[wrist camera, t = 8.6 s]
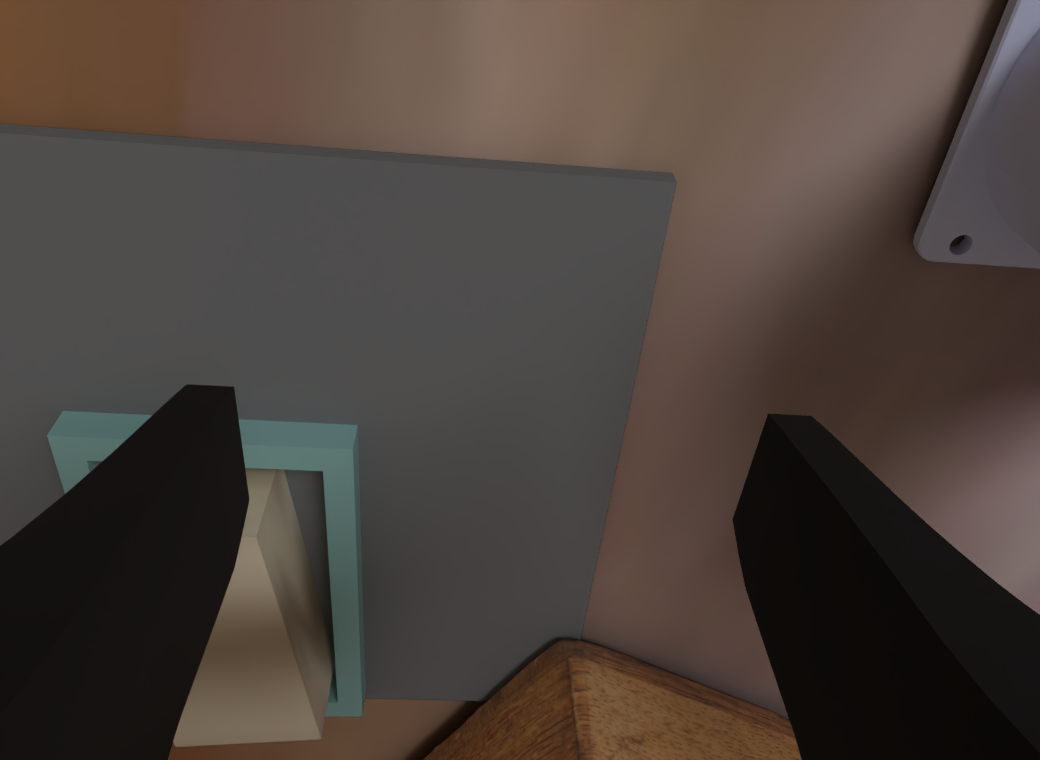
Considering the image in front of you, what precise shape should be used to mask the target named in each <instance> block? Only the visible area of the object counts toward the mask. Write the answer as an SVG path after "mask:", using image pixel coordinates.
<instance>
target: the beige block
mask: <svg viewBox="0 0 1040 760" xmlns="http://www.w3.org/2000/svg"><path fill="white" fill-rule="evenodd" d="M245 470H246V477H247V485H248V492H249V499H250V500H249V505H248V509H247V514H246V519H245V524H244V529H243V533H242V538H241V542H240V547H239V551H238V555H237V560H236V564H235V568H234V571H233V574H232V577H231V579H230V582H229V585H228V588H227V591H226V594H225V597H224V599H223V602H222V605H221V608H220V611H219V613H218V616H217V619H216V622H215V625H214V627H213V630H212V633H211V636H210V638H209V641H208V644H207V647H206V649H205V652H204V655H203V658H202V660H201V663H200V666H199V669H198V671H197V674H196V677H195V680H194V682H193V685H192V688H191V691H190V693H189V696H188V699H187V702H186V704H185V707H184V710H183V713H182V715H181V718H180V721H179V724H178V727H177V731H176V734H175V737H174V740H173V743H174V745H175V747H185V746H205V745H224V744H243V743H262V742H282V741H301V740H320V739H322V733H323V727H324V721H325V715H326V709H327V703H328V697H329V691H330V685H331V679H332V673H333V667H334V661H335V653H334V650H333V646H332V642H331V639H330V635H329V632H328V628H327V624H326V621H325V617H324V613H323V610H322V606H321V602H320V599H319V595H318V592H317V588H316V584H315V581H314V577H313V573H312V570H311V566H310V563H309V559H308V555H307V552H306V548H305V544H304V541H303V537H302V534H301V530H300V526H299V523H298V519H297V515H296V512H295V508H294V505H293V501H292V497H291V494H290V490H289V486H288V483H287V479H286V475H285V472H284V469H261V468H245Z"/></svg>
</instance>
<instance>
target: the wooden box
mask: <svg viewBox="0 0 1040 760" xmlns="http://www.w3.org/2000/svg"><path fill="white" fill-rule="evenodd" d="M423 760H802V759H801V756H800V752H799V749H798V745H797V742H796V738H795V735H794V732H793V729H792V726H791V723H790V720H788V719H786V718H783V717H781V716H779V715H778V714H776V713H774V712H771V711H769V710H766V709H763V708H761V707H758V706H755V705H753V704H750V703H748V702H745V701H742V700H740V699H737V698H735V697H732V696H729V695H726V694H724V693H721V692H718V691H716V690H713V689H711V688H709V687H707V686H704V685H701V684H699V683H696V682H693V681H690V680H688V679H685V678H682V677H680V676H677V675H675V674H672V673H670V672H668V671H666V670H662V669H660V668H657V667H654V666H651V665H649V664H647V663H644V662H641V661H639V660H636V659H634V658H632V657H629V656H627V655H624V654H621V653H619V652H616V651H613V650H610V649H607V648H605V647H602V646H599V645H595V644H592V643H589V642H586V641H581V640H574V639H561V640H559V641H558V642H556V643H555V644H553V645H552V646H550V647H549V648H548V649H546V650H545V651H544V652H542V653H541V654H540V655H539V656H538V657H537V658H535V659H534V660H533V661H532V662H530V663H529V664H528V665H527V666H526V667H525V668H523V669H522V670H521V671H520V672H519V673H518V674H517V675H516V676H515V677H514V678H513V679H512V680H511V681H509V682H508V683H507V684H506V685H505V686H504V687H503V688H502V689H500V690H499V691H498V692H497V693H496V694H495V695H494V696H493V697H492V698H491V699H490V700H488V701H487V702H486V703H485V704H484V705H482V706H481V707H480V708H478V710H477V711H476V712H475V713H474V714H473V715H472V716H471V717H469V718H468V719H467V721H466V722H465V723H464V724H463V725H462V726H460V727H459V728H458V729H457V730H456V731H455V732H454V733H453V734H451V735H450V736H449V737H448V738H447V739H446V740H445V741H443V742H442V743H441V744H440V745H438V746H437V747H435V748H434V750H433V751H432V752H431V753H430V754H429V755H427V756H426V757H425V758H424V759H423Z"/></svg>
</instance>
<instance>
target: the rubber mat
mask: <svg viewBox="0 0 1040 760" xmlns="http://www.w3.org/2000/svg"><path fill="white" fill-rule="evenodd" d="M676 183H677V182H676V180H675V177H674V175H673V173H662V172H648V171H635V170H621V169H607V168H594V167H580V166H566V165H553V164H539V163H526V162H512V161H498V160H485V159H471V158H458V157H444V156H430V155H417V154H403V153H390V152H376V151H362V150H349V149H335V148H322V147H308V146H294V145H281V144H267V143H254V142H240V141H226V140H213V139H199V138H185V137H172V136H158V135H145V134H131V133H117V132H104V131H90V130H77V129H63V128H49V127H36V126H22V125H9V124H0V546H1V545H2V544H3V543H5V542H6V541H7V540H9V539H10V538H11V537H12V536H14V535H15V534H16V533H17V532H19V531H20V530H21V529H22V528H24V527H25V526H26V525H27V524H29V523H30V522H31V521H32V520H34V519H35V518H36V517H37V516H39V515H40V514H41V513H42V512H43V511H45V510H46V509H47V508H48V507H50V506H51V505H52V504H53V503H55V502H56V501H57V500H58V499H60V498H61V497H62V496H63V495H64V494H65V492H64V489H63V486H62V482H61V479H60V476H59V473H58V470H57V466H56V463H55V460H54V457H53V454H52V450H51V447H50V444H49V441H48V437H47V435H48V433H49V432H50V430H51V429H52V427H53V425H54V424H55V422H56V421H57V419H58V418H59V416H60V415H61V413H62V412H63V411H76V412H97V413H118V414H139V415H153V414H154V413H155V412H156V411H157V410H159V409H160V408H161V407H162V406H163V405H164V404H165V403H166V402H167V401H168V400H169V399H170V398H172V397H173V396H174V395H175V394H176V393H177V392H178V391H179V390H181V389H182V388H183V387H184V386H185V385H186V384H193V385H212V386H232V387H234V390H235V397H236V404H237V411H238V419H243V420H263V421H284V422H305V423H326V424H347V425H358V452H359V485H360V518H361V551H362V584H363V617H364V650H365V684H366V693H365V698H369V699H413V700H456V701H488V700H490V699H491V698H492V697H493V696H494V695H495V694H496V693H497V692H498V691H499V690H500V689H502V688H503V687H504V686H505V685H506V684H507V683H508V682H509V681H511V680H512V679H513V678H514V677H515V676H516V675H517V674H518V673H519V672H520V671H521V670H522V669H523V668H525V667H526V666H527V665H528V664H529V663H530V662H532V661H533V660H534V659H535V658H537V657H538V656H539V655H540V654H541V653H542V652H544V651H545V650H546V649H548V648H549V647H550V646H552V645H553V644H555V643H556V642H558V641H559V640H561V639H574V640H580V639H581V635H582V630H583V625H584V620H585V616H586V611H587V606H588V601H589V597H590V592H591V587H592V582H593V578H594V573H595V568H596V563H597V559H598V554H599V549H600V544H601V540H602V535H603V530H604V525H605V521H606V516H607V511H608V506H609V502H610V497H611V492H612V487H613V483H614V478H615V473H616V468H617V464H618V459H619V454H620V449H621V445H622V440H623V435H624V430H625V426H626V421H627V416H628V411H629V407H630V402H631V397H632V392H633V387H634V383H635V378H636V373H637V368H638V364H639V359H640V354H641V349H642V345H643V340H644V335H645V330H646V326H647V321H648V316H649V311H650V307H651V302H652V297H653V292H654V288H655V283H656V278H657V273H658V269H659V264H660V259H661V254H662V250H663V245H664V240H665V235H666V231H667V226H668V221H669V216H670V212H671V207H672V202H673V197H674V193H675V188H676ZM284 472H285V475H286V479H287V483H288V486H289V490H290V494H291V497H292V501H293V505H294V508H295V512H296V515H297V519H298V523H299V526H300V530H301V534H302V537H303V541H304V544H305V548H306V552H307V555H308V559H309V563H310V566H311V570H312V573H313V577H314V581H315V584H316V588H317V592H318V595H319V599H320V602H321V606H322V610H323V613H324V617H325V621H326V624H327V628H328V632H329V635H330V639H331V642H332V646H333V650H334V635H333V619H332V604H331V588H330V572H329V557H328V541H327V526H326V510H325V494H324V479H323V471H307V470H284ZM334 653H335V651H334ZM332 677H336V666H335V661H334V667H333V673H332Z"/></svg>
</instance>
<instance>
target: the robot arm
mask: <svg viewBox="0 0 1040 760" xmlns="http://www.w3.org/2000/svg"><path fill="white" fill-rule="evenodd" d="M961 235H965V236H964V239H963V240H962V242H961V243H960V244H958V245H957V246H955V247H950V244H951V242H952V241H953V240H954V239H955V238H957V237H958V236H961ZM913 245H914V249H915V250H916V251H917V253H918V254H919V255H920V256H921V257H922V258H923V259H924V260H928V261H931V262H945V263H960V264H975V265H990V266H1005V267H1020V268H1035V269H1040V0H1009V1H1008V3H1007V6H1006V8H1005V10H1004V13H1003V15H1002V18H1001V20H1000V23H999V25H998V28H997V30H996V33H995V35H994V38H993V40H992V43H991V45H990V48H989V50H988V53H987V55H986V58H985V60H984V63H983V65H982V68H981V70H980V73H979V75H978V78H977V80H976V83H975V85H974V88H973V90H972V93H971V95H970V98H969V100H968V103H967V105H966V108H965V110H964V113H963V115H962V118H961V120H960V123H959V125H958V128H957V130H956V133H955V135H954V138H953V140H952V143H951V145H950V148H949V150H948V153H947V155H946V158H945V160H944V163H943V165H942V167H941V170H940V172H939V175H938V177H937V180H936V182H935V185H934V187H933V190H932V192H931V195H930V197H929V200H928V202H927V205H926V207H925V210H924V212H923V215H922V217H921V220H920V222H919V225H918V227H917V230H916V232H915V235H914V239H913ZM249 500H250V499H249V492H248V485H247V477H246V470H245V463H244V455H243V448H242V441H241V433H240V426H239V419H238V411H237V404H236V397H235V390H234V387H232V386H212V385H193V384H186V385H185V386H184V387H183V388H182V389H181V390H179V391H178V392H177V393H176V394H175V395H174V396H173V397H172V398H170V399H169V400H168V401H167V402H166V403H165V404H164V405H163V406H162V407H161V408H160V409H159V410H157V411H156V412H155V413H154V414H153V415H152V416H151V417H150V418H149V419H148V420H147V421H146V422H145V423H144V424H143V425H141V426H140V427H139V428H138V429H137V430H136V431H135V432H134V433H133V434H132V435H131V436H130V437H129V438H127V439H126V440H125V441H124V442H123V443H122V444H121V445H120V446H119V447H118V448H117V449H116V450H114V451H113V452H112V453H111V454H110V455H109V456H108V457H107V458H105V459H104V460H103V461H102V462H101V463H100V464H99V465H98V466H96V467H95V468H94V469H93V470H92V471H91V472H90V473H88V474H87V475H86V476H85V477H84V478H83V479H82V480H81V481H79V482H78V483H77V484H76V485H75V486H74V487H73V488H71V489H70V490H69V491H68V492H67V493H66V494H64V495H63V496H62V497H61V498H60V499H58V500H57V501H56V502H55V503H53V504H52V505H51V506H50V507H48V508H47V509H46V510H45V511H43V512H42V513H41V514H40V515H39V516H37V517H36V518H35V519H34V520H32V521H31V522H30V523H29V524H27V525H26V526H25V527H24V528H22V529H21V530H20V531H19V532H17V533H16V534H15V535H14V536H12V537H11V538H10V539H9V540H7V541H6V542H5V543H3V544H2V545H1V546H0V760H168V756H169V753H170V750H171V747H172V743H173V740H174V737H175V734H176V731H177V727H178V724H179V721H180V718H181V715H182V713H183V710H184V707H185V704H186V702H187V699H188V696H189V693H190V691H191V688H192V685H193V682H194V680H195V677H196V674H197V671H198V669H199V666H200V663H201V660H202V658H203V655H204V652H205V649H206V647H207V644H208V641H209V638H210V636H211V633H212V630H213V627H214V625H215V622H216V619H217V616H218V613H219V611H220V608H221V605H222V602H223V599H224V597H225V594H226V591H227V588H228V585H229V582H230V579H231V577H232V574H233V571H234V568H235V564H236V560H237V555H238V551H239V547H240V542H241V538H242V533H243V529H244V524H245V519H246V514H247V509H248V505H249ZM733 524H734V530H735V535H736V541H737V547H738V553H739V558H740V563H741V568H742V573H743V578H744V583H745V587H746V590H747V593H748V596H749V600H750V603H751V606H752V609H753V612H754V615H755V618H756V621H757V624H758V627H759V630H760V633H761V636H762V639H763V642H764V645H765V648H766V651H767V654H768V657H769V660H770V663H771V666H772V669H773V672H774V675H775V678H776V681H777V684H778V687H779V690H780V693H781V696H782V699H783V702H784V705H785V708H786V711H787V714H788V717H789V720H790V723H791V726H792V729H793V732H794V735H795V738H796V742H797V745H798V749H799V752H800V756H801V759H802V760H1040V615H1039V614H1038V613H1036V612H1035V611H1033V610H1032V609H1031V608H1029V607H1028V606H1027V605H1025V604H1024V603H1022V602H1021V601H1020V600H1018V599H1017V598H1016V597H1015V596H1013V595H1012V594H1011V593H1009V592H1008V591H1007V590H1006V589H1004V588H1003V587H1002V586H1000V585H999V584H998V583H997V582H995V581H994V580H993V579H992V578H990V577H989V576H988V575H987V574H986V573H984V572H983V571H982V570H981V569H980V568H978V567H977V566H976V565H975V564H974V563H972V562H971V561H970V560H969V559H968V558H966V557H965V556H964V555H963V554H962V553H960V552H959V551H958V550H957V549H955V548H954V547H953V546H952V545H951V544H950V543H949V542H947V541H946V540H945V539H944V538H943V537H942V536H941V535H939V534H938V533H937V532H936V531H935V530H934V529H933V528H931V527H930V526H929V525H928V524H927V523H926V522H925V521H924V520H922V519H921V518H920V517H919V516H918V515H917V514H916V513H915V512H914V511H913V510H911V509H910V508H909V507H908V506H907V505H906V504H905V503H904V502H903V501H902V500H901V499H900V498H898V497H897V496H896V495H895V494H894V493H893V492H892V491H891V490H890V489H889V488H888V487H887V486H886V485H885V484H884V483H882V482H881V481H880V480H879V479H878V478H877V477H876V476H875V475H874V474H873V473H872V472H871V471H870V470H869V469H868V468H867V467H866V466H865V465H864V464H863V463H861V462H860V461H859V460H858V459H857V458H856V457H855V456H854V455H853V454H852V453H851V452H850V451H849V450H848V449H847V448H846V447H845V446H844V445H843V444H842V443H840V442H839V441H838V440H837V439H836V438H835V437H834V436H833V435H832V434H831V433H830V432H829V431H828V430H826V429H825V428H824V427H823V426H822V425H821V424H820V423H819V422H817V421H816V420H815V419H814V418H813V417H812V416H799V415H780V414H768V416H767V419H766V422H765V425H764V428H763V431H762V434H761V437H760V440H759V443H758V446H757V449H756V452H755V455H754V458H753V461H752V464H751V467H750V470H749V473H748V476H747V478H746V481H745V484H744V487H743V490H742V493H741V496H740V499H739V502H738V505H737V508H736V511H735V514H734V517H733Z"/></svg>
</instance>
